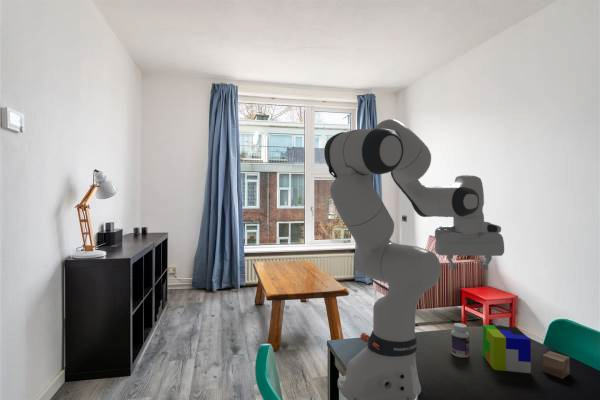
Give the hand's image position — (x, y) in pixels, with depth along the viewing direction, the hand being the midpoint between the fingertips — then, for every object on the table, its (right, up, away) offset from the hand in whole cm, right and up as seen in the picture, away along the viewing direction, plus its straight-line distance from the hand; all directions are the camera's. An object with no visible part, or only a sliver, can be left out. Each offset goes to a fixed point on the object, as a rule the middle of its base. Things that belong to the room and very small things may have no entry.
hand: (468, 269), depth 110 cm
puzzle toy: (+10, -29, -3) cm, 31 cm away
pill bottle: (-1, -29, +3) cm, 29 cm away
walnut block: (+22, -29, -8) cm, 37 cm away
